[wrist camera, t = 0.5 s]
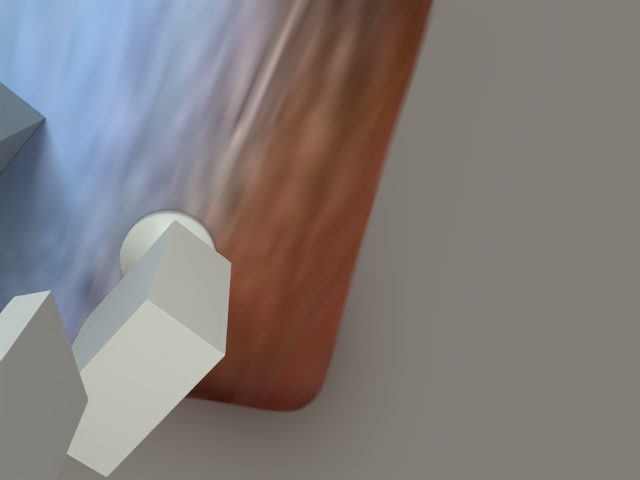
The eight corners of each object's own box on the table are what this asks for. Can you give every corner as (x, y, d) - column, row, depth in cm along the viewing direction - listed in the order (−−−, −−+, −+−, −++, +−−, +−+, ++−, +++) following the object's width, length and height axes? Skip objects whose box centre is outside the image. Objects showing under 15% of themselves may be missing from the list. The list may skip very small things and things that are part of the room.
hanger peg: (96, 267, 40) (6, 418, 25) (173, 179, 39) (126, 284, 24) (168, 319, 42) (125, 488, 27) (245, 237, 41) (243, 368, 26)
